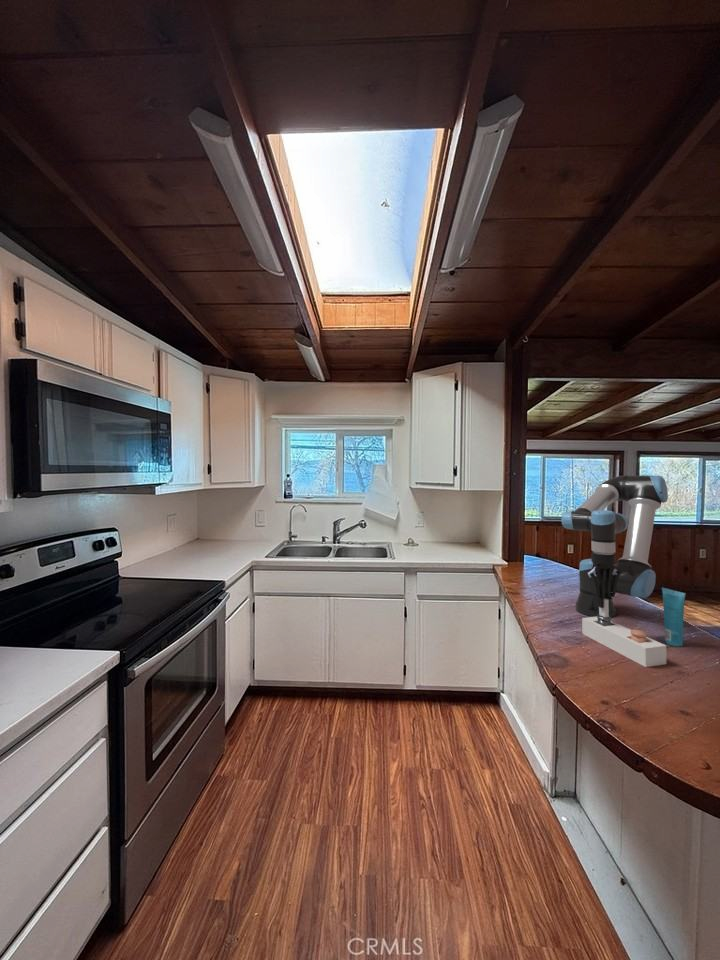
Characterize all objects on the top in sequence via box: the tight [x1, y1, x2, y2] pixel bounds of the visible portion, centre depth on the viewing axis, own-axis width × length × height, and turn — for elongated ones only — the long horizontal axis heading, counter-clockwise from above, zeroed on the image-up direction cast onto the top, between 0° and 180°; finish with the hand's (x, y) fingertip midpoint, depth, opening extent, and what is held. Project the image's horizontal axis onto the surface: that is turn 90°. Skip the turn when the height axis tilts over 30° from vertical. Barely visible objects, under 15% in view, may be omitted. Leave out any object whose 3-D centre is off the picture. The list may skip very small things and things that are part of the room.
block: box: [581, 616, 667, 668], centre depth 134 cm, size 8×26×6 cm, turn 11°
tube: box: [661, 587, 687, 647], centre depth 136 cm, size 7×5×19 cm, turn 26°
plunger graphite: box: [597, 615, 612, 626], centre depth 141 cm, size 4×4×7 cm
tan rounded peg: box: [630, 628, 648, 643], centre depth 127 cm, size 4×4×7 cm
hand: (603, 615), depth 141 cm, fingers closed
